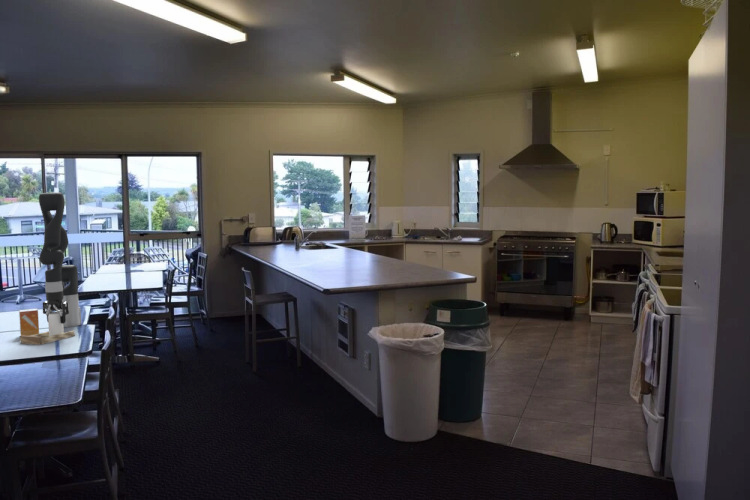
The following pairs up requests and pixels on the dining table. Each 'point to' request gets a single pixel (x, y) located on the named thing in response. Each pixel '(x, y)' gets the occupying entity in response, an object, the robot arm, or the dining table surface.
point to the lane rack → (44, 337)
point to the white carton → (55, 324)
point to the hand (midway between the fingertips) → (56, 322)
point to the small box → (29, 322)
